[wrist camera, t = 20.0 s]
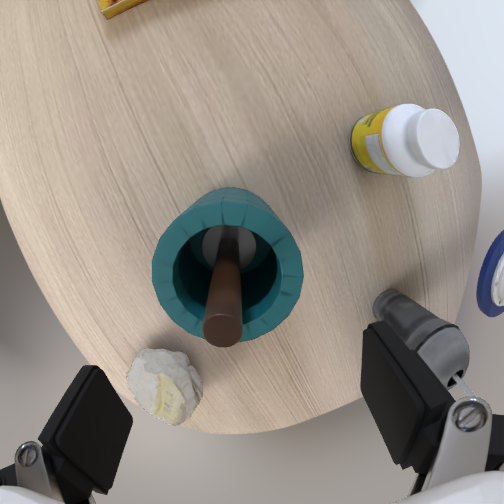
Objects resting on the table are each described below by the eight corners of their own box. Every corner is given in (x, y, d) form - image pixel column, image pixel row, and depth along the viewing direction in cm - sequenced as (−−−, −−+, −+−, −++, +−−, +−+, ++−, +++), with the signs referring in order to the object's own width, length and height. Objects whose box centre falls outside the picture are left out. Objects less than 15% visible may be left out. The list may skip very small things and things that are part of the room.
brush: (248, 208, 27) (267, 270, 11) (257, 254, 29) (284, 362, 12) (201, 218, 27) (153, 292, 11) (212, 263, 29) (187, 377, 12)
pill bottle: (395, 119, 26) (463, 105, 15) (398, 174, 28) (468, 183, 16) (344, 113, 25) (403, 89, 14) (347, 172, 27) (409, 179, 16)
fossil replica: (147, 396, 35) (211, 391, 36) (141, 440, 28) (215, 437, 29) (117, 335, 31) (192, 327, 32) (100, 382, 23) (190, 377, 24)
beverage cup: (387, 268, 31) (501, 364, 12) (418, 294, 32) (515, 382, 13) (352, 315, 33) (434, 437, 13) (386, 336, 34) (462, 440, 15)
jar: (267, 179, 27) (290, 187, 16) (283, 268, 30) (310, 327, 19) (174, 199, 27) (133, 222, 16) (197, 284, 30) (177, 351, 19)
